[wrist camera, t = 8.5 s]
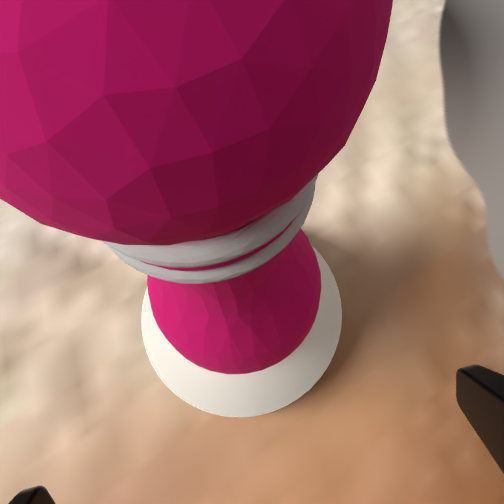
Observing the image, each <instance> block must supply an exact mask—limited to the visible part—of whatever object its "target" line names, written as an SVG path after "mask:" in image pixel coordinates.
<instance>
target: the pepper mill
mask: <svg viewBox="0 0 504 504" xmlns="http://www.w3.org/2000/svg"><path fill="white" fill-rule="evenodd" d="M392 2H393V0H0V199H2V200H4V201H5V202H7V203H8V204H10V205H12V206H13V207H15V208H16V209H18V210H20V211H21V212H23V213H25V214H26V215H28V216H29V217H31V218H33V219H34V220H36V221H38V222H39V223H41V224H44V225H47V226H50V227H53V228H57V229H60V230H63V231H66V232H70V233H73V234H76V235H80V236H84V237H88V238H91V239H96V240H102V241H103V242H104V243H105V244H107V245H108V246H109V248H110V249H111V250H112V251H113V252H114V253H115V254H116V255H117V256H118V257H119V258H120V259H121V260H123V261H124V262H125V263H126V264H128V265H130V266H131V267H133V268H135V269H136V270H138V271H140V272H142V273H145V274H147V275H148V279H147V286H148V295H149V300H150V304H151V308H152V313H153V316H154V318H155V321H156V323H157V325H158V327H159V329H160V330H161V332H162V333H163V335H164V336H165V338H166V339H167V340H168V341H169V343H170V344H171V345H172V346H173V347H174V348H175V349H176V350H177V351H178V352H179V353H180V354H181V355H182V356H184V357H185V358H186V359H187V360H189V361H191V362H192V363H194V364H196V365H197V366H199V367H202V368H204V369H207V370H209V371H213V372H218V373H223V374H248V373H252V372H256V371H261V370H264V369H266V368H268V367H271V366H273V365H275V364H277V363H279V362H280V361H282V360H283V359H285V358H286V357H288V356H289V355H290V354H291V353H292V352H294V351H295V350H296V349H297V348H298V347H299V346H300V345H301V343H302V342H303V341H304V339H305V338H306V336H307V335H308V334H309V332H310V330H311V328H312V326H313V324H314V322H315V319H316V316H317V312H318V309H319V302H320V295H321V272H320V268H319V264H318V261H317V257H316V254H315V252H314V250H313V248H312V246H311V244H310V242H309V240H308V238H307V236H306V235H305V234H304V232H303V231H302V230H301V227H302V225H303V224H304V221H305V219H306V217H307V214H308V212H309V209H310V207H311V204H312V201H313V196H314V191H315V181H316V179H317V176H318V173H319V172H320V171H321V170H322V169H323V168H324V167H325V166H326V165H327V164H328V163H329V162H330V161H331V160H332V159H333V158H334V157H335V156H336V154H337V153H338V152H339V151H340V150H341V149H342V148H343V147H344V146H345V144H346V142H347V140H348V138H349V136H350V134H351V132H352V130H353V128H354V126H355V124H356V122H357V120H358V118H359V116H360V114H361V112H362V110H363V108H364V105H365V103H366V101H367V99H368V97H369V94H370V92H371V90H372V88H373V86H374V83H375V81H376V78H377V74H378V70H379V66H380V62H381V58H382V54H383V50H384V46H385V42H386V39H387V34H388V28H389V22H390V16H391V10H392Z"/></svg>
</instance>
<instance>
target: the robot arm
mask: <svg viewBox="0 0 504 504" xmlns="http://www.w3.org/2000/svg"><path fill="white" fill-rule="evenodd" d="M456 398H457V402H458V405H459V407H460V409H461V410H462V412H463V413H464V415H465V416H466V418H467V419H468V421H469V422H470V424H471V425H472V427H473V428H474V430H475V431H476V433H477V434H478V436H479V437H480V439H481V440H482V442H483V443H484V445H485V446H486V448H487V449H488V451H489V452H490V454H491V455H492V457H493V458H494V460H495V461H496V463H497V464H498V466H499V467H500V469H501V470H502V471H503V473H504V375H502V374H499V373H497V372H495V371H492V370H490V369H487V368H485V367H482V366H480V365H470V366H467V367H463V368H460V369H458V371H457V372H456ZM9 504H55V502H54V500H53V499H52V497H51V496H50V494H49V493H48V491H47V489H46V488H45V487H43V486H36V487H33V488H29V489H25V490H23V491H21V492H19V493H18V494H17V495H16V496H15V497H14V498H13V499H12V500H11V501H10V502H9Z"/></svg>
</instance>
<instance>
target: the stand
mask: <svg viewBox="0 0 504 504" xmlns="http://www.w3.org/2000/svg"><path fill="white" fill-rule="evenodd" d="M311 246H312V245H311ZM312 248H313V250H314V252H315V254H316V257H317V261H318V264H319V268H320V272H321V295H320V302H319V309H318V312H317V316H316V319H315V322H314V324H313V326H312V328H311V330H310V332H309V334H308V335H307V336H306V338H305V339H304V341H303V342H302V343H301V345H300V346H299V347H298V348H297V349H296V350H295V351H294V352H292V353H291V354H290V355H289V356H288V357H286V358H285V359H283V360H282V361H280V362H279V363H277V364H275V365H273V366H271V367H268V368H266V369H264V370H261V371H256V372H252V373H248V374H223V373H218V372H213V371H209V370H207V369H204V368H202V367H199V366H197V365H196V364H194V363H192V362H191V361H189V360H187V359H186V358H185V357H184V356H182V355H181V354H180V353H179V352H178V351H177V350H176V349H175V348H174V347H173V346H172V345H171V344H170V343H169V341H168V340H167V339H166V338H165V336H164V335H163V333H162V332H161V330H160V329H159V327H158V325H157V323H156V321H155V318H154V316H153V313H152V308H151V304H150V300H149V295H148V286H147V289H146V292H145V296H144V299H143V306H142V314H141V327H142V336H143V341H144V345H145V349H146V352H147V355H148V357H149V360H150V362H151V364H152V366H153V368H154V369H155V371H156V373H157V374H158V376H159V377H160V378H161V380H162V381H163V382H164V383H165V385H166V386H167V387H168V388H169V389H170V390H171V391H172V392H173V393H175V394H176V395H177V396H178V397H180V398H181V399H182V400H184V401H185V402H187V403H188V404H190V405H192V406H194V407H196V408H198V409H200V410H203V411H206V412H209V413H212V414H215V415H221V416H226V417H251V416H259V415H263V414H266V413H270V412H273V411H276V410H278V409H280V408H283V407H285V406H287V405H289V404H290V403H292V402H294V401H295V400H297V399H299V398H300V397H301V396H302V395H304V394H305V393H306V392H307V391H308V390H310V389H311V388H312V386H313V385H314V384H315V383H316V382H317V381H318V380H319V379H320V378H321V376H322V375H323V373H324V372H325V370H326V369H327V368H328V366H329V364H330V362H331V360H332V358H333V356H334V354H335V351H336V348H337V345H338V342H339V338H340V332H341V326H342V306H341V298H340V294H339V289H338V286H337V283H336V280H335V278H334V276H333V274H332V272H331V270H330V268H329V266H328V264H327V263H326V261H325V260H324V258H323V257H322V256H321V254H320V253H319V252H318V251H317V250H316V249H315V248H314V247H313V246H312Z"/></svg>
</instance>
